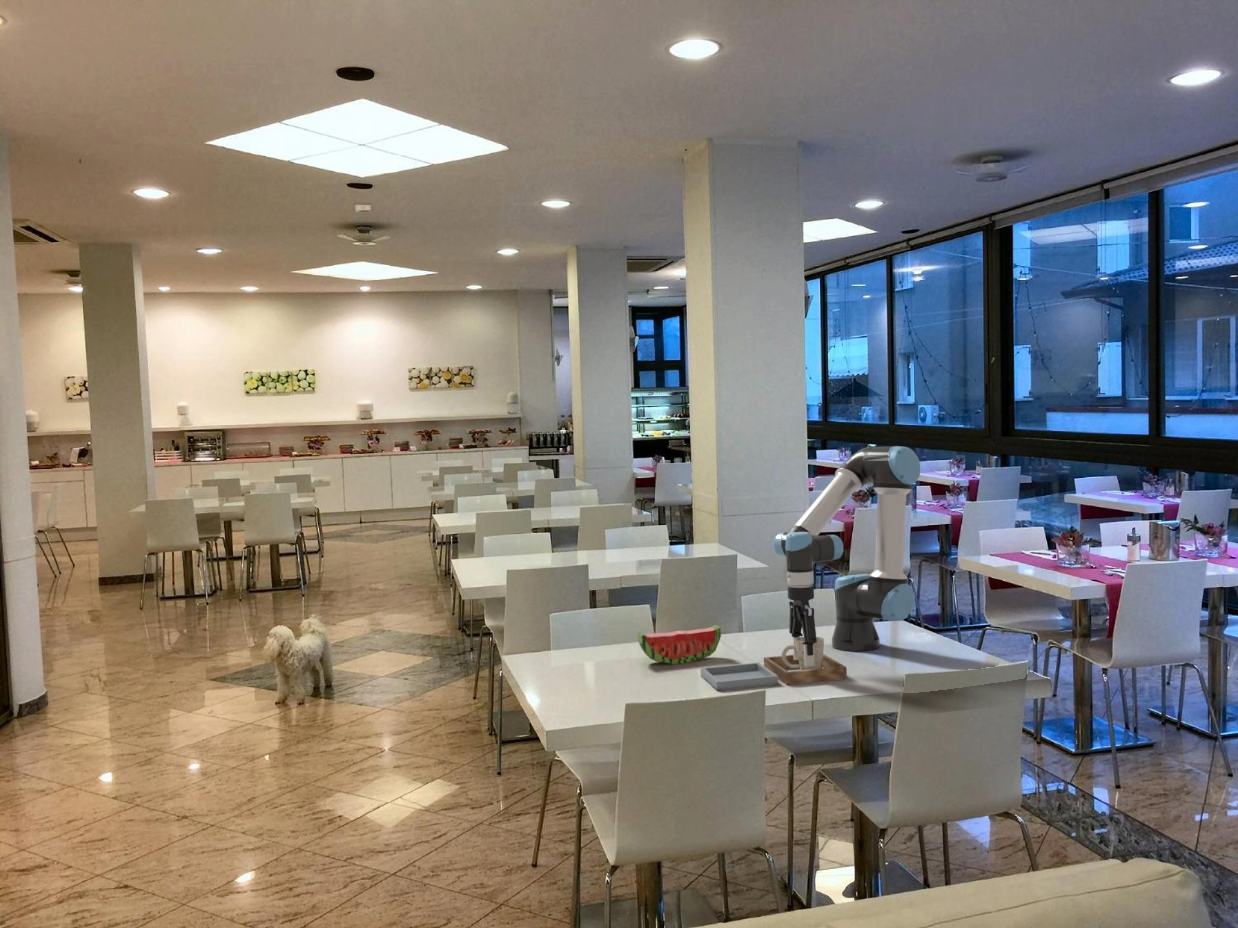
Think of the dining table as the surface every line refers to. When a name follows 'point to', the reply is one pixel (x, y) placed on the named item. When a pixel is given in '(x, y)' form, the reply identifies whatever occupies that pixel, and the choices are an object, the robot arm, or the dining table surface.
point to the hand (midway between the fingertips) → (803, 662)
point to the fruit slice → (680, 645)
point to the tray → (739, 676)
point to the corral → (828, 673)
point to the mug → (800, 651)
